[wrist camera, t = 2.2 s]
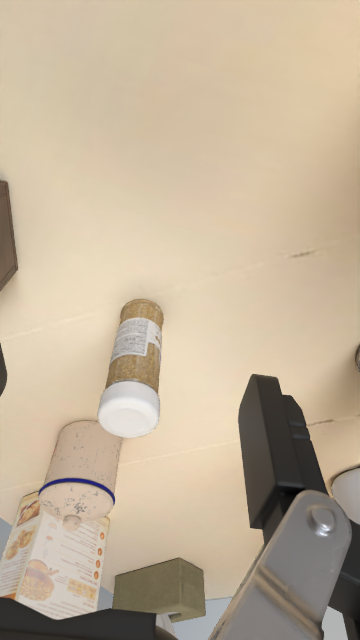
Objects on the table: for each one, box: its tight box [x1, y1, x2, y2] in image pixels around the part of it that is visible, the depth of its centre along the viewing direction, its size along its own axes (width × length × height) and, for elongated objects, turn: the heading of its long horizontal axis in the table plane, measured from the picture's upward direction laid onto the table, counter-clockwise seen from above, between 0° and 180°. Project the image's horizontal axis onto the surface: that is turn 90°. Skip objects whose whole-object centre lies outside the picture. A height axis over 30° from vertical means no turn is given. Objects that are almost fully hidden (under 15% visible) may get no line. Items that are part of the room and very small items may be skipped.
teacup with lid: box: [38, 421, 121, 531], centre depth 44 cm, size 12×9×12 cm
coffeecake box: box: [0, 491, 109, 620], centre depth 52 cm, size 15×7×20 cm, turn 33°
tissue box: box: [112, 558, 206, 637], centre depth 72 cm, size 19×10×16 cm, turn 124°
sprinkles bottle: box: [97, 299, 164, 438], centre depth 30 cm, size 5×5×13 cm
